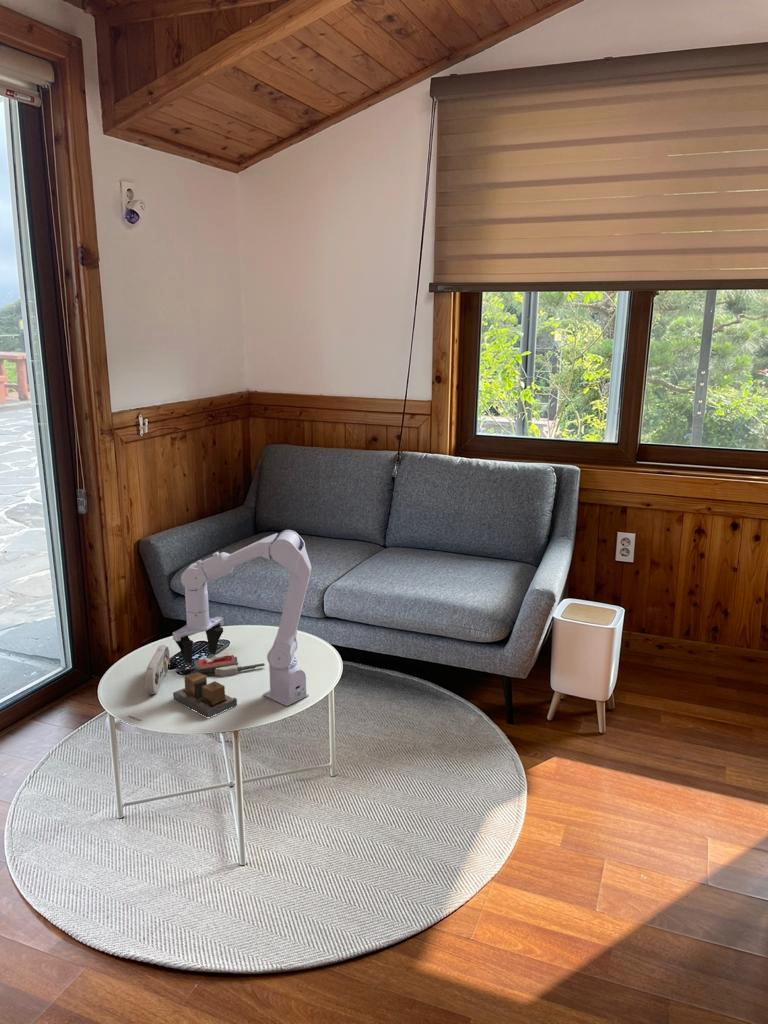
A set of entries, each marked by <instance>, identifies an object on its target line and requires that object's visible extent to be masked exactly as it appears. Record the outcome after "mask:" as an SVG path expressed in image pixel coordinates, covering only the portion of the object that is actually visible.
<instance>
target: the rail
mask: <svg viewBox="0 0 768 1024" xmlns="http://www.w3.org/2000/svg"><path fill="white" fill-rule="evenodd" d="M225 687H226V686H225V685H224V684H221V683H220V682H217V681H216V680H214V681H211V682H209V683H207V685H204V686H202V696H203V697H202V698H200V699H196V698H194V697H192V696H190V695H188V694H186V693H185V687H184V688H181V689H178V690H176V691H173V692H172V696H173V701H175V700H176V701H175V702H177V701H178V702H177V703H179V704H180V703H181V704H180V705H182V704H183V705H182V706H184V705H185V706H184V707H186V706H187V707H186V708H188V707H189V708H190V710H191V709H193V710H195V711H197V712H198V713H200V714H202V715H204V716H206V717H211V716H213V715H215V714H218V713H220V712H222V711H224V710H226V709H229V708H231V707H233V708H235V707H237V706H238V699H237V698H236V697H231V696H229V695H227V694H226V692H225V691H226V690H225ZM236 705H237V706H236ZM234 706H235V707H234ZM189 708H188V709H189ZM231 709H232V708H231ZM193 710H192V711H193ZM229 710H230V709H229ZM195 711H194V712H195ZM197 712H196V713H197ZM224 712H225V711H224ZM198 713H197V714H198ZM222 713H223V712H222ZM200 714H199V715H200ZM220 714H221V713H220ZM202 715H201V716H202ZM218 715H219V714H218ZM204 716H203V717H204ZM206 717H205V718H206ZM213 717H214V716H213ZM211 718H212V717H211Z"/></svg>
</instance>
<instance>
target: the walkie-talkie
mask: <svg viewBox="0 0 768 1024" xmlns="http://www.w3.org/2000/svg"><path fill="white" fill-rule="evenodd" d="M193 662H194V663H193ZM192 663H193V667H194V666H195V671H193V672H192V674H193V673H195V672H199V673H201V674H203V675H208V676H213V675H212V674H214V675H216V676H218V675H221V676H220V677H227V676H233V675H238V674H239V672H242V671H247V670H252V669H256V668H260V667H264V666H266V665H265V663H258V664H257V663H256V664H249V665H246V666H238V665H239V661H238V657H237V656H234V654H231V653H230V652H225V653H218V654H213V656H212V657H209V658H208V657H204V658H201V659H197V660H196V659H195V660H192Z"/></svg>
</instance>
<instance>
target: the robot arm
mask: <svg viewBox="0 0 768 1024" xmlns="http://www.w3.org/2000/svg"><path fill="white" fill-rule="evenodd" d="M260 557H262V558H264V559H266V560H268V561H270V560H271V559H273V561H275V563H278V564H279V565H281V566H282V567H283V568H285V569H286V571H288V573H290V578H289V584H288V588H287V591H286V594H285V595H286V597H285V599H284V600H285V601H284V604H283V608H282V612H281V617H280V621H279V626H278V630H277V632H276V633H277V634H276V636H275V639H274V641H273V644H272V646H271V648H270V649H269V651H268V653H267V655H266V659H267V662H268V671H269V690H267V691H265V692H263V693H262V694H263V696H264V697H267V698H269V699H271V700H273V701H275V702H277V703H279V704H281V705H283V706H286V707H288V706H289V705H292V704H294V703H296V702H299V701H300V700H302V699H305V698H307V697H308V696H309V695H310V694H309V693H308V692H307V676H306V673H305V670H303V669H302V668H301V667H300V666H299V664H298V659H297V657H296V655H295V652H296V651H297V649H298V641H297V634H298V626H299V623H300V619H301V614H302V610H303V606H304V602H305V598H306V593H307V591H308V590H307V589H308V586H309V581H310V577H311V573H312V564H311V561H310V557H309V555H308V552H307V549H306V544H305V541H304V539H303V538H302V537H301V535H299V533H297V532H296V531H295V530H292V529H285V530H283V531H281V532H280V533H274V534H271V535H268V536H266V537H262V538H261V539H260V540H257V541H255V542H253V543H251V544H248V545H247V546H245V547H242V548H240V549H239V550H237V551H234V552H232V553H228V552H225V551H222V552H219V551H216V552H214V553H212V556H211V557H208V558H206V559H203V560H202V559H198V560H197V561H196V562H194V563H192V564H190V565H189V566H188V567H187V568H186V569H185V570H184V571H183V572H182V574H181V576H180V582H181V584H182V586H183V587H184V597H185V598H184V600H185V612H186V613H185V614H186V625H184V626H183V627H180V628H179V629H178V630H176V631H173V632H172V640H173V641H174V642H175V643H176V645H177V646H178V647H179V649H180V652H181V654H182V657H183V659H184V662H185V663H186V664H188V665H191V664H192V663H193V653H192V652H193V646H194V641H193V640H191V639H190V637H191V636H193V635H196V634H198V633H202V632H203V633H204V632H205V634H206V638H207V640H206V641H207V649H208V653H210V654H211V655H217V654H216V653H217V648H218V645H219V642H220V641H219V640H220V639H221V636H222V635H223V633H224V628H223V627H222V626H224V618H223V617H221V616H216V617H210V609H209V608H210V607H209V592H208V583H210V582H213V581H216V580H217V579H220V578H223V577H224V576H227V575H230V574H232V573H233V571H234V568H235V567H236V566H238V565H241V564H244V563H246V562H249V561H252V560H254V559H257V558H260Z"/></svg>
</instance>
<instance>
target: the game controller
mask: <svg viewBox="0 0 768 1024" xmlns="http://www.w3.org/2000/svg"><path fill="white" fill-rule="evenodd" d="M170 659H171V658H170V649H169V647H168V645H166V644H161V645H159V646H158V647H157V649H156V651H155V653H154V654H153V656H152V658H151V660H149V663H148V664H147V667H146V671H145V681H144V685H145V686H144V687H145V691H146V693H147V695H157V694H158V693H159V691H160V690H159V689H160V687H161V686H160V685H161V682H162V681H163V679H164V677H165V676H166V675H167V674H168V672H169V669H168V664H169V665H170V662H169V661H170Z"/></svg>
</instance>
